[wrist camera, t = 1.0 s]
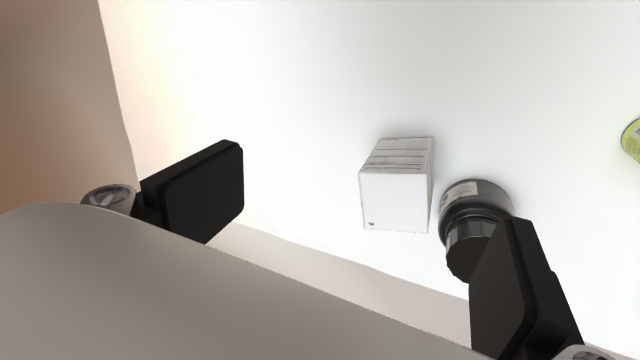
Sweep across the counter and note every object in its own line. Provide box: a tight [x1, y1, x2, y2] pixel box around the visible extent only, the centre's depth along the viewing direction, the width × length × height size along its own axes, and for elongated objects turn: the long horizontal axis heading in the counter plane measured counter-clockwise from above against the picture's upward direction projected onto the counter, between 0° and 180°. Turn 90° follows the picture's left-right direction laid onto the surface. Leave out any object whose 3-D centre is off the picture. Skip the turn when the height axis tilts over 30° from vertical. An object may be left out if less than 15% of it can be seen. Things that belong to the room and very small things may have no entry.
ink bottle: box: [438, 180, 515, 284], centre depth 38 cm, size 10×9×12 cm
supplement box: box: [358, 137, 434, 233], centre depth 38 cm, size 7×7×13 cm
